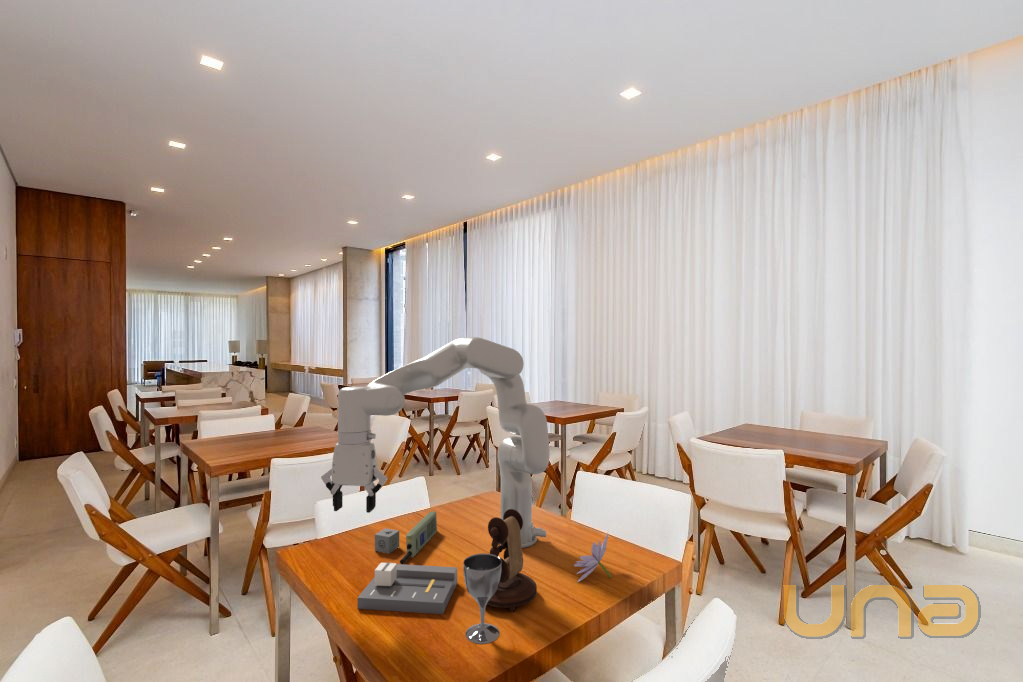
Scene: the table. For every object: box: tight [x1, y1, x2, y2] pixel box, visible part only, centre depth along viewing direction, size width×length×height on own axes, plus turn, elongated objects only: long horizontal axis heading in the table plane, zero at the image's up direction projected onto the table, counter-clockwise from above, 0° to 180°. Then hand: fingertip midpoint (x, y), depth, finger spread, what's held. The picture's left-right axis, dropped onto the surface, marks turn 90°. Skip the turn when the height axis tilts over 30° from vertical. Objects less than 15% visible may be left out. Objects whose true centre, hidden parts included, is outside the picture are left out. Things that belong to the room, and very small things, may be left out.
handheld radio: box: [399, 510, 438, 565], centre depth 144 cm, size 7×3×25 cm
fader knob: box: [374, 561, 398, 586], centre depth 118 cm, size 4×4×4 cm
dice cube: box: [374, 527, 400, 555], centre depth 143 cm, size 5×5×5 cm
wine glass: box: [462, 552, 501, 645], centre depth 102 cm, size 8×8×15 cm
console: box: [357, 563, 458, 615], centre depth 117 cm, size 20×14×4 cm
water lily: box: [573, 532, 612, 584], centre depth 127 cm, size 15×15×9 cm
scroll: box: [486, 509, 538, 613], centre depth 116 cm, size 15×15×20 cm
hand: (354, 509), depth 119 cm, fingers open, 7 cm apart
